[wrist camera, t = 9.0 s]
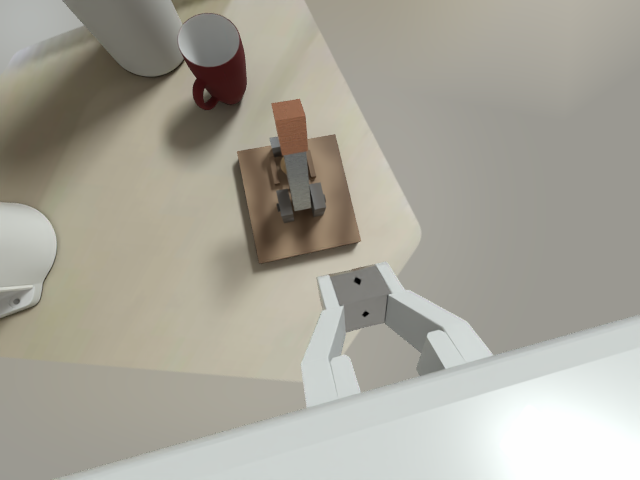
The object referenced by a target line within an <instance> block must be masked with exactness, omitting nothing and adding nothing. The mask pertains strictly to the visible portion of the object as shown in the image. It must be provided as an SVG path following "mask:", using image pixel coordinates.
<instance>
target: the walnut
mask: <svg viewBox="0 0 640 480" xmlns="http://www.w3.org/2000/svg"><path fill="white" fill-rule="evenodd" d="M281 169H282V171H283V172H284V173H285V174H286V175H287V171H286V166H285V161H284V156H283V158H282V159H281Z"/></svg>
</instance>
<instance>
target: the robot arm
mask: <svg viewBox="0 0 640 480" xmlns="http://www.w3.org/2000/svg"><path fill="white" fill-rule="evenodd" d="M56 249H57V242H56V235H55V232H54V229H53V227H52V225H51V223H50V222H49V220H48V219H47V218H46V217H45V216H44V215H43V214H42V213H41V212H39V211H38V210H36V209H34V208H32V207H30V206H27V205H24V204H19V203H6V202H0V318H2V317H5V316H7V315H10V314H13V313H16V312H18V311H21V310H24V309H26V308H29V307H32V306H34V305H36V304H37V303H38V302H39V300H40V297H41V292H42V285H43V281H44V279H45V277H46V275H47V274H48V272H49V270H50V269H51V267H52V264H53V262H54V259H55V255H56ZM317 284H318V290H319V296H320V301H321V306H322V312H321V314H320V317H319V320H318V322H317V325H316V327H315V330H314V332H313V335H312V337H311V340H310V343H309V345H308V348H307V350H306V353H305V355H304V358H303V360H302V363H301V370H302V377H303V384H304V391H305V398H306V405H307V408H304V409H301V410H297V411H293V412H290V413H286V414H283V415H279V416H276V417H272V418H269V419H265V420H261V421H258V422H254V423H251V424H247V425H244V426H240V427H237V428H233V429H230V430H226V431H222V432H219V433H215V434H212V435H208V436H204V437H201V438H197V439H194V440H190V441H187V442H183V443H179V444H176V445H172V446H169V447H165V448H162V449H158V450H155V451H151V452H148V453H144V454H140V455H137V456H134V457H130V458H126V459H123V460H119V461H115V462H112V463H108V464H105V465H101V466H98V467H94V468H91V469H87V470H83V471H80V472H76V473H73V474H69V475H66V476H62V477H59V478H56V479H52V480H640V315H636V316H632V317H629V318H625V319H621V320H618V321H615V322H611V323H607V324H604V325H600V326H596V327H593V328H590V329H586V330H582V331H579V332H575V333H571V334H568V335H564V336H561V337H557V338H554V339H550V340H546V341H543V342H540V343H536V344H532V345H529V346H525V347H522V348H518V349H514V350H511V351H508V352H504V353H500V354H497V355H493V354H492V353H491V352H490V350H489V349H488V348H487V346H486V345H485V344H484V343H483V341H482V340H481V339H480V337H479V336H478V335H477V334H476V332H475V331H474V330H473V329H472V327H471V326H470V325H469V323H468V322H467V321H465V320H463V319H461V318H460V317H458V316H456V315H454V314H452V313H450V312H448V311H447V310H445V309H443V308H441V307H439V306H437V305H436V304H434V303H432V302H430V301H429V300H427V299H425V298H423V297H421V296H419V295H418V294H416V293H414V292H412V291H410V290H405V289H404V288H403V286H402V285H401V283H400V281H399V280H398V278H397V277H396V275H395V274H394V272H393V270H392V269H391V267H390V266H389V264H388V263H387V262H382V263H378V264H374V265H369V266H364V267H360V268H356V269H352V270H349V271H344V272H339V273H334V274H329V275H325V276H320V277H317ZM19 300H20V302H19ZM381 323H385V324H386V325H387V326H389V327H390V328H391V329H392V330H393V331H395V332H396V333H397V334H398V335H400V336H401V337H402V338H403V339H404V340H406V341H407V342H408V343H409V344H411V345H412V346H413V347H414V348H416V349H417V350H418V351H419V352H421V356H420V359H419V362H418V365H417V371H418V373H419V375H420V376H418V377H415V378H411V379H408V380H404V381H400V382H397V383H393V384H390V385H386V386H383V387H379V388H376V389H372V390H369V391H365V392H361V391H360V388H359V385H358V382H357V379H356V376H355V373H354V370H353V366H352V363H351V360H350V358H349V357H348V356H346V355H341V352H342V348H343V344H344V339H345V335H346V332H350V331H353V330H357V329H360V328H364V327H368V326H372V325H377V324H381Z"/></svg>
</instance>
